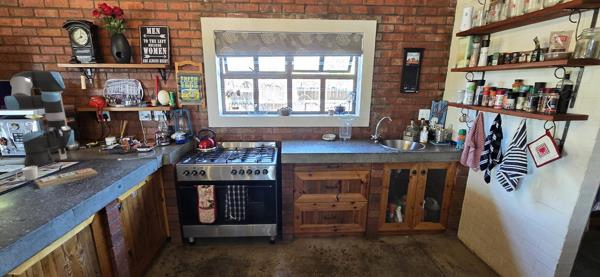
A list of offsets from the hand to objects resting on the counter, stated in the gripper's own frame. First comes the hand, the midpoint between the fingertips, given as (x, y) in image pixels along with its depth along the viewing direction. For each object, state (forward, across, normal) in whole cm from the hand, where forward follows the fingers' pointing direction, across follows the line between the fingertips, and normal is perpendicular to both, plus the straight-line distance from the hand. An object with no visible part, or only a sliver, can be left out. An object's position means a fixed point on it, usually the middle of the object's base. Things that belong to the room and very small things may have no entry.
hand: (63, 158), depth 150 cm
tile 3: (+12, +1, +8) cm, 14 cm away
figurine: (+14, -37, +46) cm, 61 cm away
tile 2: (+12, +1, 0) cm, 12 cm away
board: (+13, +1, 0) cm, 13 cm away
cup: (+13, -14, -14) cm, 24 cm away
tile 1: (+12, +1, -8) cm, 15 cm away
